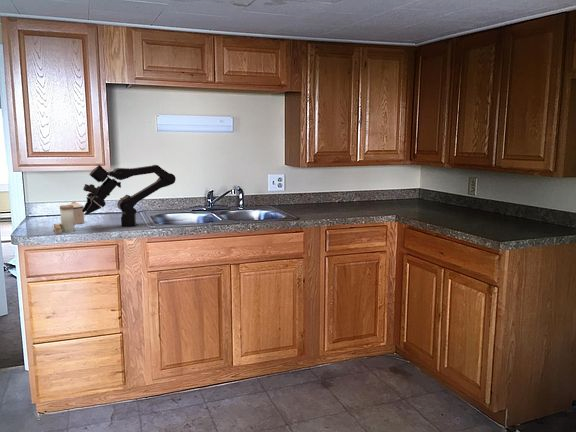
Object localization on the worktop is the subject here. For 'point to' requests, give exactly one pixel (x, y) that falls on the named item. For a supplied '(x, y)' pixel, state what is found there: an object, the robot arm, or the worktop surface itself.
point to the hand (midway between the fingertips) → (84, 212)
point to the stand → (58, 228)
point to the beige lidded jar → (77, 212)
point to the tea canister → (67, 218)
